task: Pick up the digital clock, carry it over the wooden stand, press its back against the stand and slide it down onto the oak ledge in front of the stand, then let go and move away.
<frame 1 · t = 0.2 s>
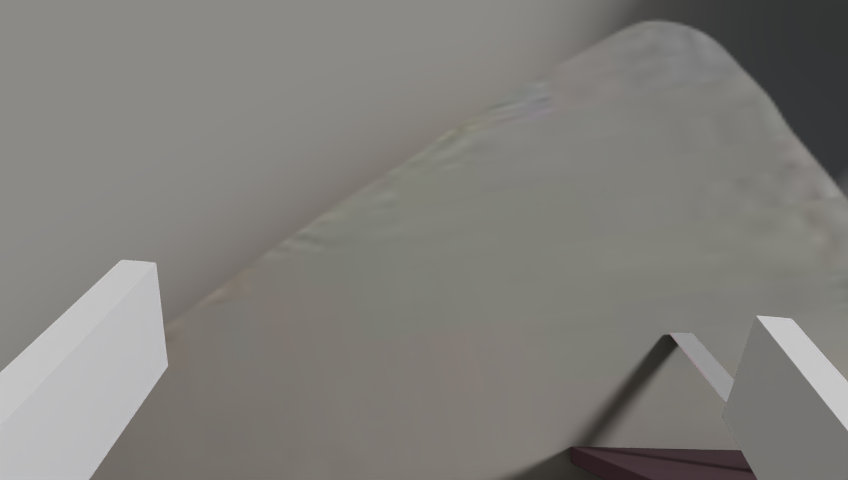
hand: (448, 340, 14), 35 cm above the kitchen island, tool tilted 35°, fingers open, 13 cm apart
picture frame: (677, 397, 49), on the kitchen island
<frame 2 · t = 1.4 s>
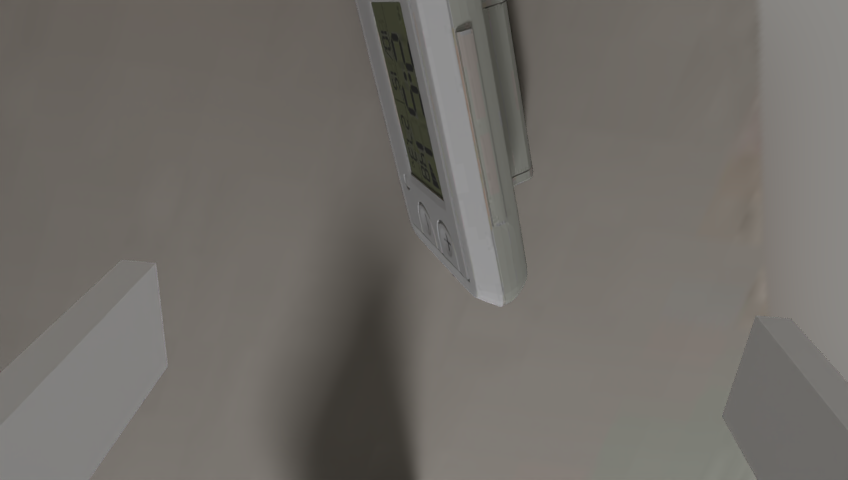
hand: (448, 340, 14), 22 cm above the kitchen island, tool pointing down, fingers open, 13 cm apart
digital clock: (434, 87, 34), on the kitchen island
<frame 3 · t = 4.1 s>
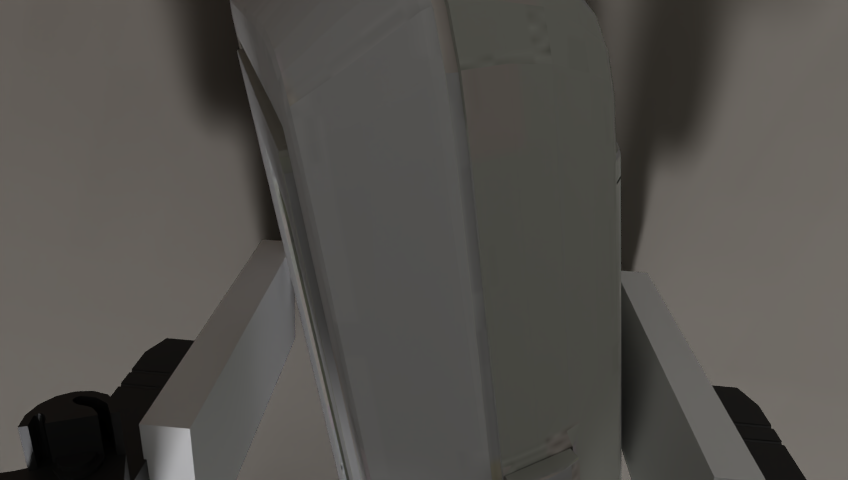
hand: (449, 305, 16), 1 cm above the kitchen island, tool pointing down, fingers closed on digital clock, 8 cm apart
digital clock: (421, 278, 17), on the kitchen island, touching gripper
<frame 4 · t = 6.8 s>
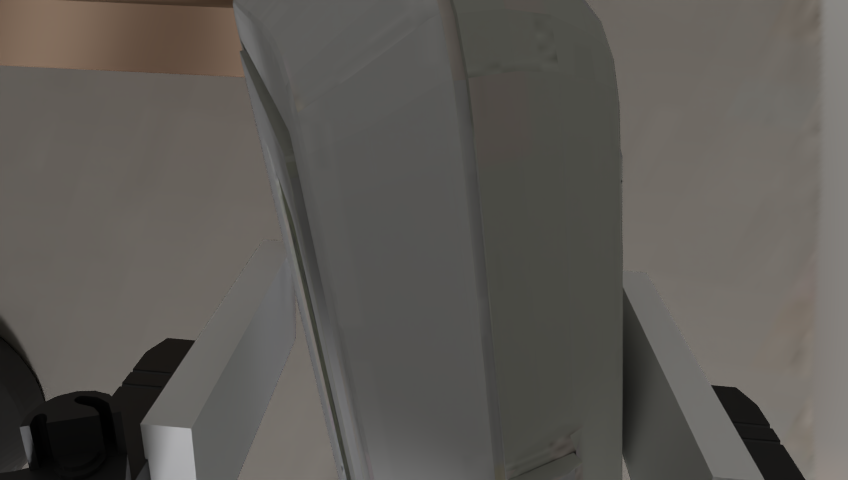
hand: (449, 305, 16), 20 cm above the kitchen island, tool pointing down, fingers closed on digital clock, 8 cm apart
digital clock: (421, 280, 17), point 19 cm above the kitchen island, touching gripper
when the fingers open (10 cm above the kitchen island, at t = 9.7 s): digital clock drops 5 cm, resting on wooden stand.
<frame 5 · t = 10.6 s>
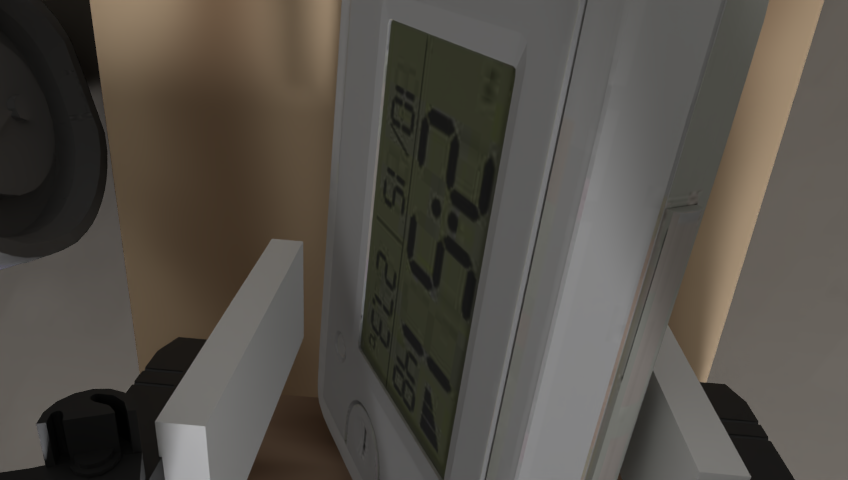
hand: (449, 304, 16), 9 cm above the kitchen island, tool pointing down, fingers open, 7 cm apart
wooden stand: (438, 133, 23), on the kitchen island
digital clock: (425, 184, 20), point 4 cm above the kitchen island, touching gripper, wooden stand
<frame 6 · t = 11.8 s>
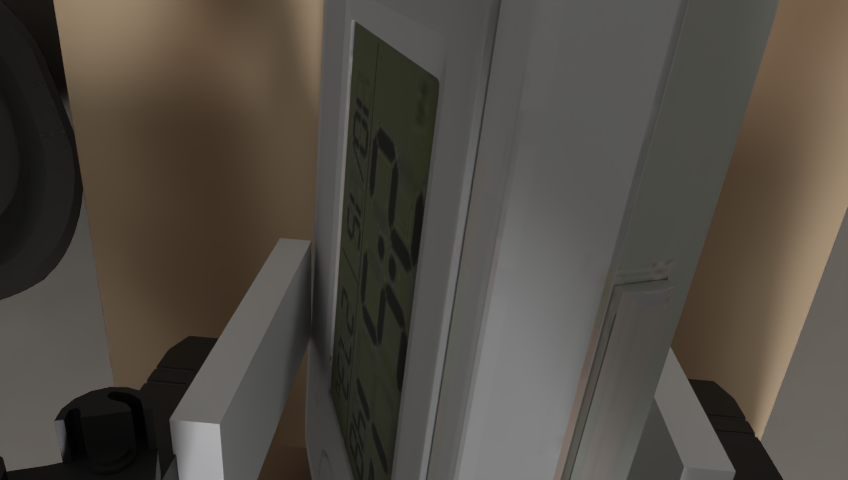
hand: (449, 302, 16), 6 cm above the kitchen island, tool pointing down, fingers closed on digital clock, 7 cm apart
wooden stand: (456, 153, 21), on the kitchen island
digital clock: (429, 208, 17), point 4 cm above the kitchen island, touching gripper, wooden stand
when the fingers open (6 cm above the kitchen island, at t = 11.8 s): digital clock stays where it is, resting on wooden stand.
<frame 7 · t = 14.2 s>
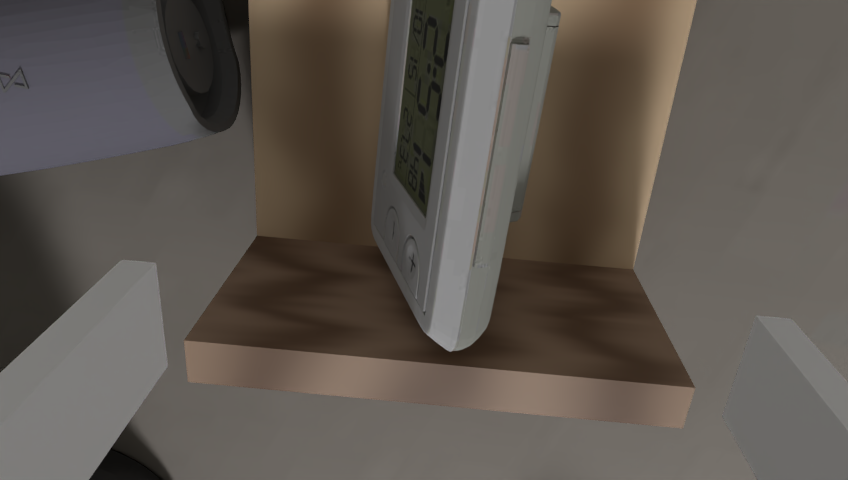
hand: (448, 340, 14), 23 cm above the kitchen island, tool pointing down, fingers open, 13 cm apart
bluetooth speaker: (43, 58, 35), on the kitchen island
wooden stand: (460, 66, 34), on the kitchen island
digital clock: (444, 88, 31), point 4 cm above the kitchen island, touching wooden stand
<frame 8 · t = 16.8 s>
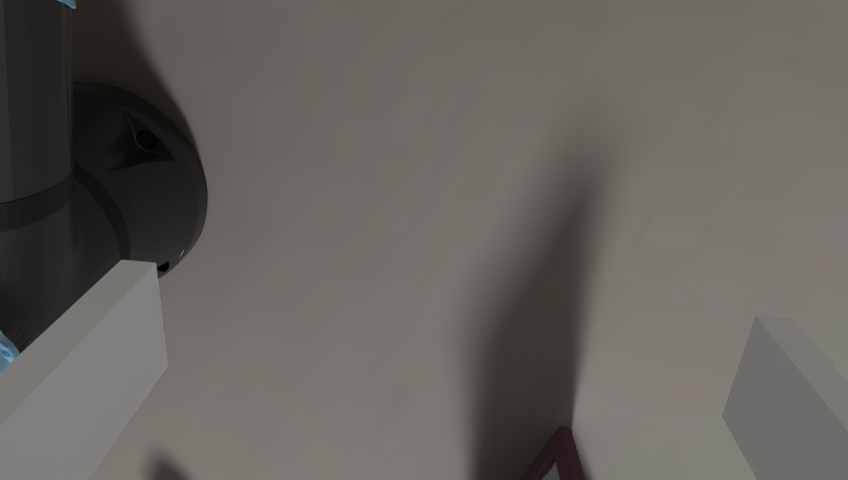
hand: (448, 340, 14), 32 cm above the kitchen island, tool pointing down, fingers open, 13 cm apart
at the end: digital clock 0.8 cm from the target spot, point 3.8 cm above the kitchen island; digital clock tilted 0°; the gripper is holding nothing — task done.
